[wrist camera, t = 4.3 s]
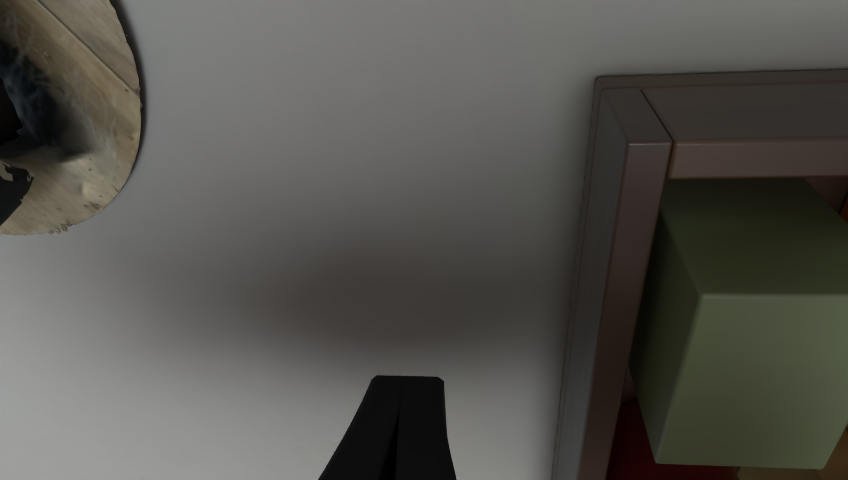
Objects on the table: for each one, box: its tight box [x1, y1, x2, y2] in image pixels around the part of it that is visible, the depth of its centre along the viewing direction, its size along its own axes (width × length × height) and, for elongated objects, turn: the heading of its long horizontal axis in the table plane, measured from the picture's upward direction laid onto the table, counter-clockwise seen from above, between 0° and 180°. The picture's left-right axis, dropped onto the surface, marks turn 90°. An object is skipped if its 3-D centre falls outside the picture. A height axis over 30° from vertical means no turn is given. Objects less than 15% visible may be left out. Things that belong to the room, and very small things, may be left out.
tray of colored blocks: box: [552, 70, 848, 480], centre depth 11 cm, size 8×12×5 cm, turn 3°
